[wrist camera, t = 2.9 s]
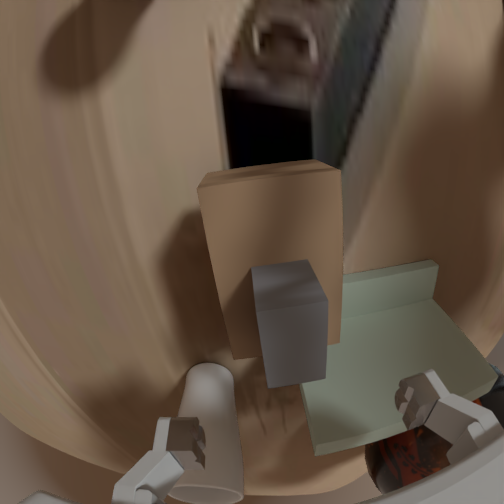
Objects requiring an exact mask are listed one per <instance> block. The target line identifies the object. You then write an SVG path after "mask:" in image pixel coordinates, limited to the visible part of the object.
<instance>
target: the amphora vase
mask: <svg viewBox="0 0 504 504" xmlns="http://www.w3.org/2000/svg"><path fill="white" fill-rule="evenodd" d="M489 364H490V363H489ZM490 366H491V367H492V368H493V370H494V371H495V372H496V373H497V375H498V378H497V380H496V382H495V383H494V385H493V387H492V388H491V390H490V391H489V392H488V393H486V394H484V395H483V396H481V397H479V398H477V399H475V400H474V401H472V402H473V403H475V404H477V405H480V406H482V407H484V408H486V409H489V410H491V411H492V412H493V414H494V415H495V417H496V418H497V420H498V421H499V423H500V425H501V426H502V428H503V429H504V375H503V374H502V373H501V371H500V370H499V369H498V368H497V367H496V366H493V365H492V364H490ZM452 446H453V444H452V443H450V442H449V441H447V440H446V439H444V438H443V437H441V436H440V435H438V434H437V433H435V432H434V431H432V430H431V429H429V428H428V427H426V426H425V425H424V424H423V425H421V426H418V427H416V428H413V429H410V430H407V431H405V432H402V433H399V434H396V435H393V436H391V437H388V438H385V439H381V440H378V441H375V442H372V443H368V444H365V461H366V465H367V469H368V473H369V475H370V476H371V478H372V480H373V482H374V483H375V485H376V487H377V488H378V490H379V491H380V492H381V493H382V494H383V495H384V494H387V493H389V492H392V491H395V490H397V489H400V488H402V487H405V486H407V485H409V484H412V483H414V482H416V481H419V480H421V479H423V478H425V477H427V476H429V475H432V474H434V473H436V472H438V471H440V470H442V469H443V468H445V467H447V466H449V465H451V464H450V462H449V460H448V458H447V456H446V454H447V452H448V451H449V450H450V448H451V447H452Z"/></svg>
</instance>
